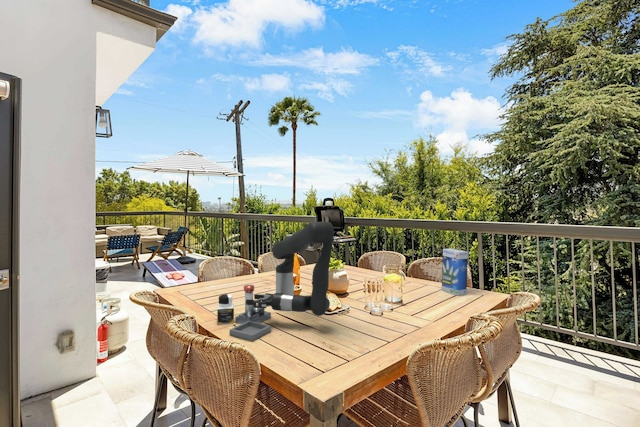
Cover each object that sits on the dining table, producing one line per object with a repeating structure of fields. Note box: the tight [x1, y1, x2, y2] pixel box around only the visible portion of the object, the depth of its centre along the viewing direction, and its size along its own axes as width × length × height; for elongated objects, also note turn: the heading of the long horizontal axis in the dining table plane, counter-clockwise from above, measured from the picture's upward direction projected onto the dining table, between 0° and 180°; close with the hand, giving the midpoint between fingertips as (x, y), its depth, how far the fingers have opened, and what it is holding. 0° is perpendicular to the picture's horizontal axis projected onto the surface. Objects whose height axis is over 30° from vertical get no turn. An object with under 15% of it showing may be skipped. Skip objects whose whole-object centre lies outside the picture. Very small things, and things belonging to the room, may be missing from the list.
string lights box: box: [441, 247, 469, 297], centre depth 209 cm, size 13×8×26 cm, turn 25°
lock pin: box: [243, 284, 255, 317], centre depth 158 cm, size 5×5×14 cm
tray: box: [229, 321, 272, 343], centre depth 145 cm, size 12×12×2 cm
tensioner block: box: [234, 308, 272, 325], centre depth 161 cm, size 13×10×5 cm
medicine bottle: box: [216, 293, 235, 325], centre depth 159 cm, size 7×7×12 cm
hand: (250, 299), depth 158 cm, fingers open, 8 cm apart
